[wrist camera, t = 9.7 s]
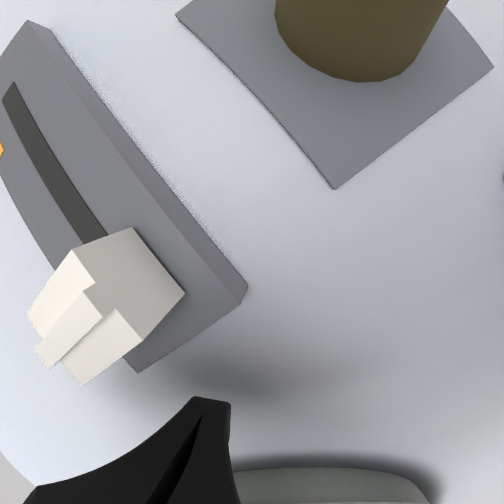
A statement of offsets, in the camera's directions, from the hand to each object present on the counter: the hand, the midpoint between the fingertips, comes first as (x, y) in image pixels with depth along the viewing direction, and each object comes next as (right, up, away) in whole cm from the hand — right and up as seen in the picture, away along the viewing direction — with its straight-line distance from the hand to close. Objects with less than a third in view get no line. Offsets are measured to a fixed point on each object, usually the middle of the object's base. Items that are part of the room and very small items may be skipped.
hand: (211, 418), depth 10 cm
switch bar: (-7, +10, +2) cm, 12 cm away
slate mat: (+5, +15, 0) cm, 16 cm away
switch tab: (-3, +5, +1) cm, 6 cm away
